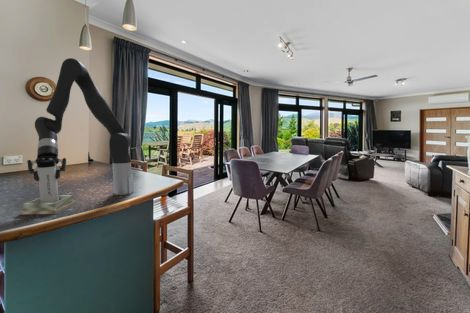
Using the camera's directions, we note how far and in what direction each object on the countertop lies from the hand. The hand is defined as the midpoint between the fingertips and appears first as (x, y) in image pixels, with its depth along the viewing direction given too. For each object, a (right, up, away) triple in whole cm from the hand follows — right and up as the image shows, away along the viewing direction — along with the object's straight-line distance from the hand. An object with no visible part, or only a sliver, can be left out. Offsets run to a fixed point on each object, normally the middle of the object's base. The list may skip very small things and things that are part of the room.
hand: (47, 179), depth 99 cm
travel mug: (-1, -11, +3) cm, 12 cm away
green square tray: (-1, -13, +3) cm, 14 cm away
